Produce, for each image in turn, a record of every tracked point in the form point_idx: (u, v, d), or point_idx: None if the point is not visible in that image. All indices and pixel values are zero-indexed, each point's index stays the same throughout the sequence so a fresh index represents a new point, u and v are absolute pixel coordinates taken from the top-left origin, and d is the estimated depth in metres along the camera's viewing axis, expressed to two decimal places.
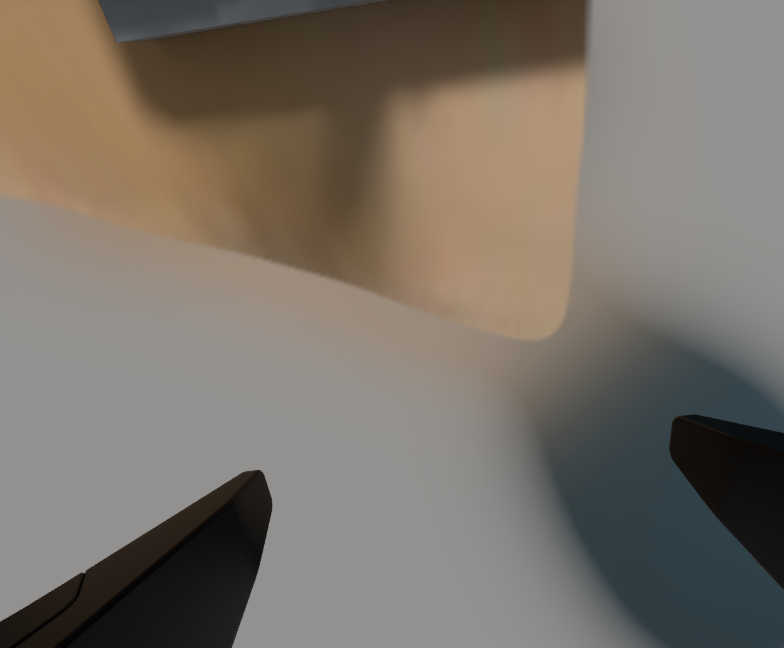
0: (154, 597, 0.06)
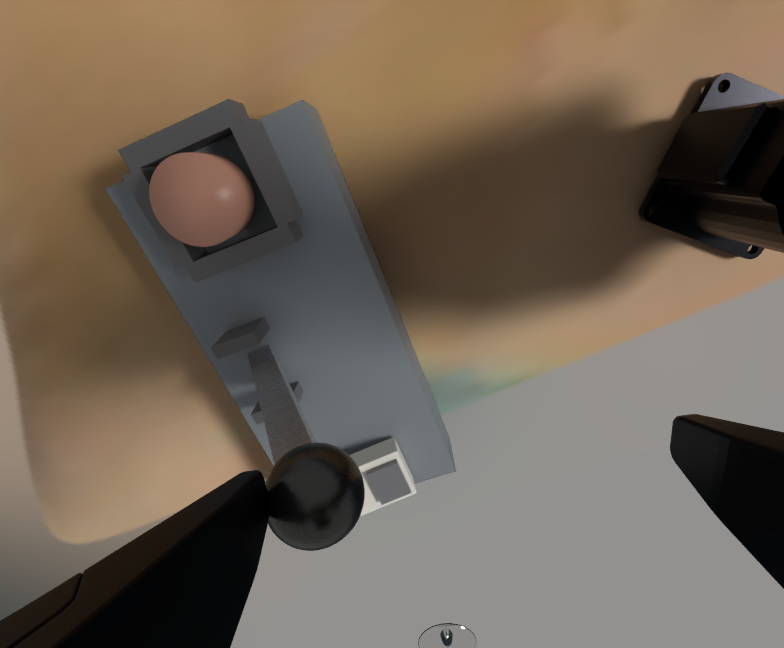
0: (152, 597, 0.06)
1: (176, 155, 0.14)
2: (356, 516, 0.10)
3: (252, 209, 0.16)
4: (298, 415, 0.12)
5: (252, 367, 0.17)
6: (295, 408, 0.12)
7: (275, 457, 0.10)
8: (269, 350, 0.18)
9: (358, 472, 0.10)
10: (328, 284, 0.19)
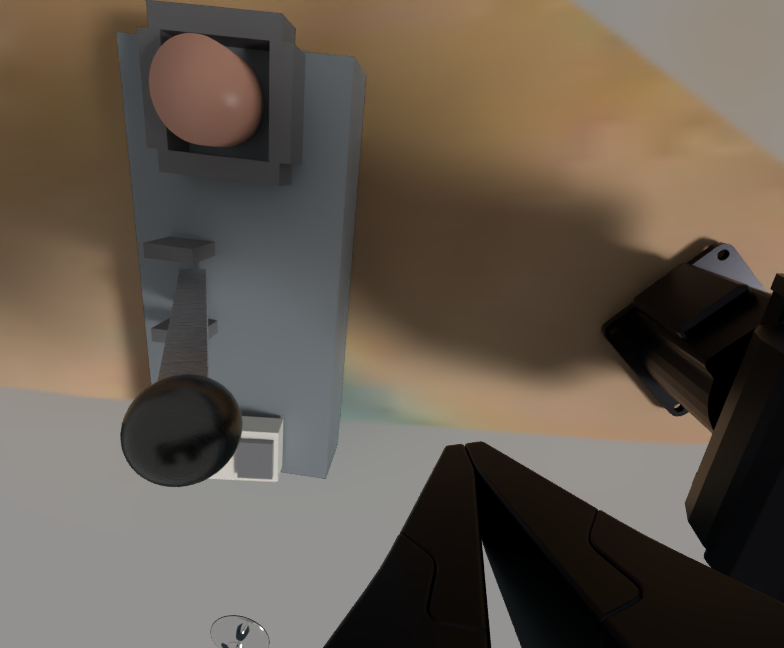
0: None
1: (200, 35, 0.13)
2: (217, 468, 0.09)
3: (252, 131, 0.15)
4: (205, 346, 0.11)
5: (179, 282, 0.16)
6: (205, 338, 0.11)
7: (161, 374, 0.09)
8: (204, 275, 0.17)
9: (240, 426, 0.09)
10: (292, 243, 0.18)
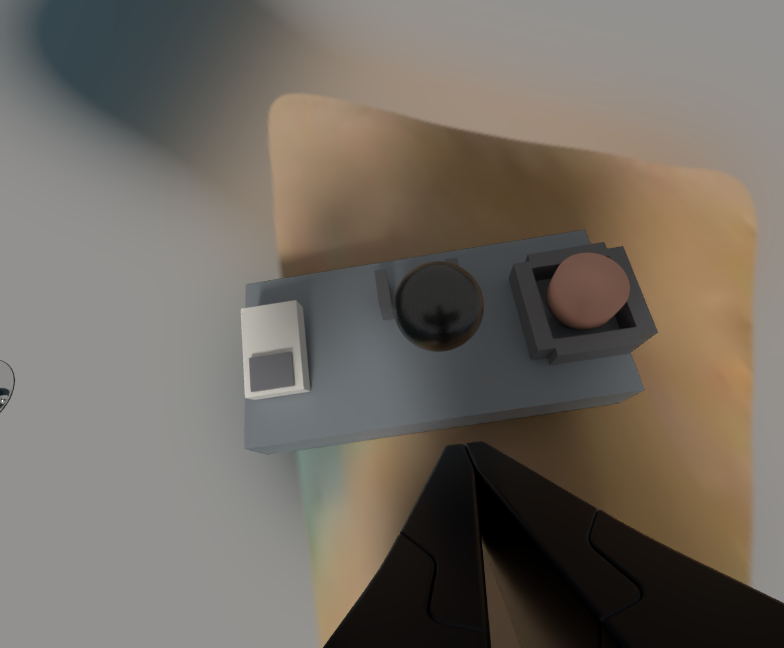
0: None
1: (627, 281, 0.19)
2: (425, 336, 0.10)
3: (569, 324, 0.20)
4: None
5: None
6: None
7: None
8: None
9: (450, 349, 0.11)
10: (483, 369, 0.21)
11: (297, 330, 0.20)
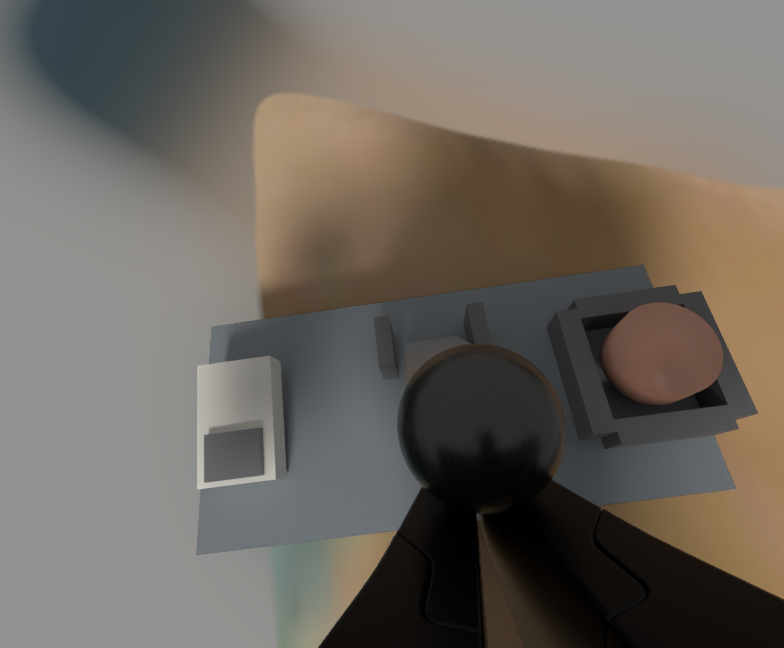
0: (479, 559, 0.05)
1: (719, 345, 0.14)
2: (459, 497, 0.05)
3: (635, 397, 0.14)
4: None
5: (464, 341, 0.14)
6: None
7: None
8: None
9: None
10: None
11: (270, 397, 0.15)
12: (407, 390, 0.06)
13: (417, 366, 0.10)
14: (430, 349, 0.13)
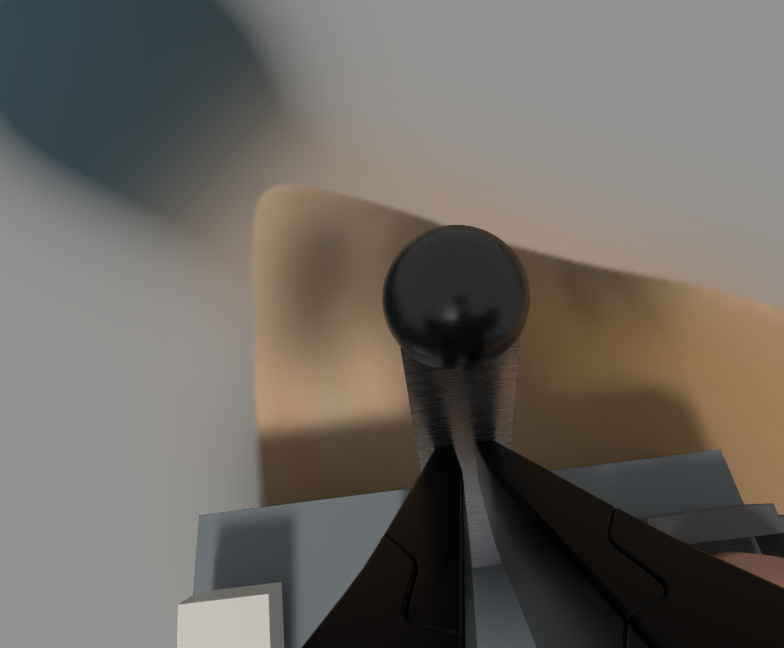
0: (465, 560, 0.05)
1: None
2: (426, 279, 0.06)
3: None
4: (514, 395, 0.08)
5: None
6: (513, 412, 0.08)
7: None
8: None
9: (475, 325, 0.06)
10: None
11: None
12: None
13: None
14: None
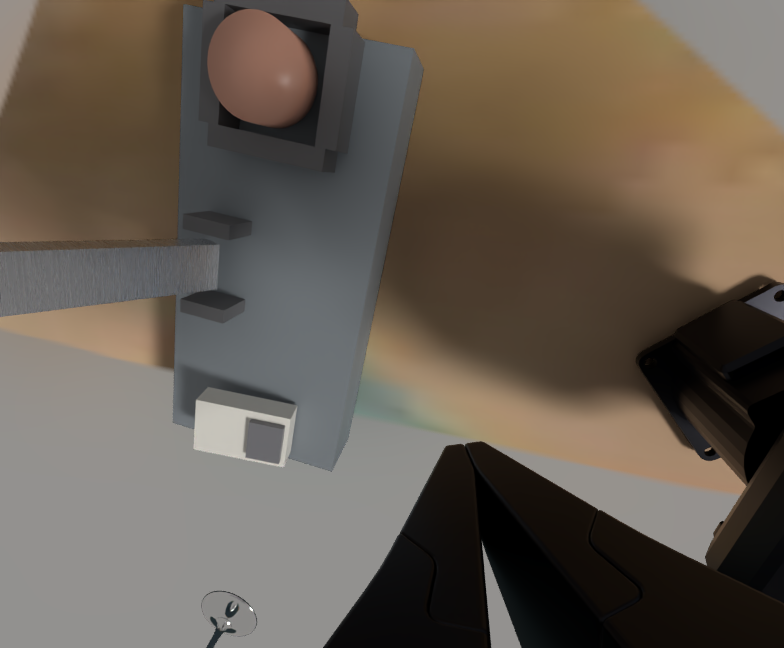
0: None
1: (263, 12, 0.13)
2: None
3: (302, 114, 0.15)
4: None
5: (155, 239, 0.16)
6: None
7: None
8: (194, 245, 0.17)
9: None
10: (327, 231, 0.18)
11: (229, 407, 0.19)
12: None
13: None
14: None
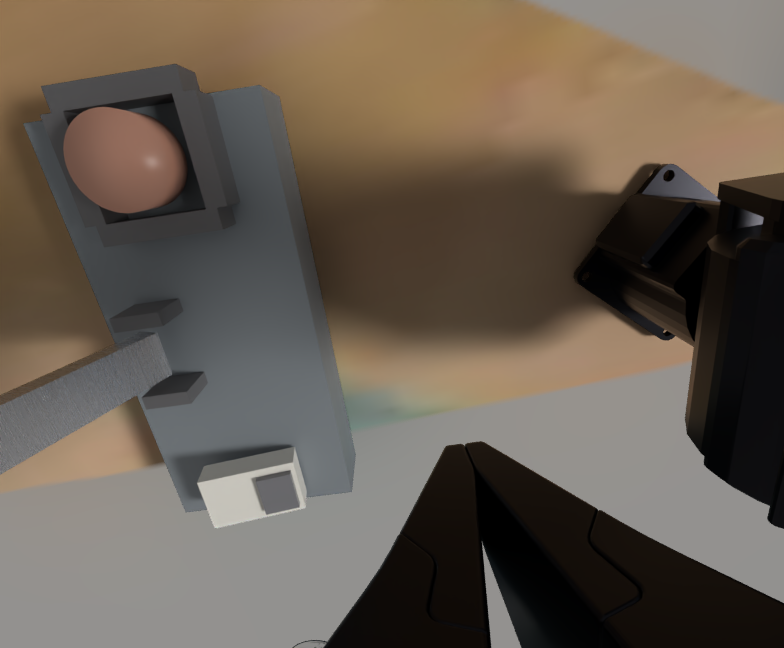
0: None
1: (102, 108, 0.13)
2: None
3: (181, 185, 0.15)
4: None
5: (92, 354, 0.16)
6: None
7: None
8: (132, 343, 0.17)
9: None
10: (253, 279, 0.18)
11: (231, 476, 0.20)
12: None
13: None
14: None
